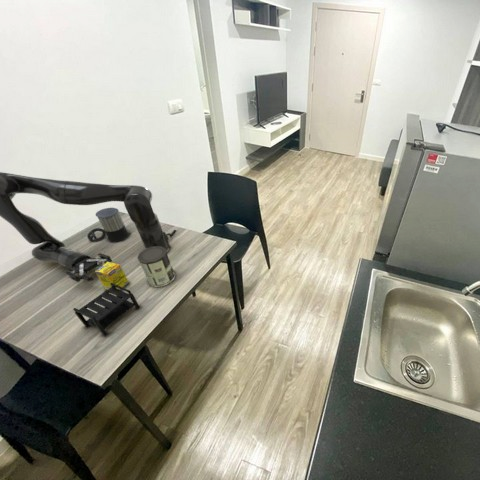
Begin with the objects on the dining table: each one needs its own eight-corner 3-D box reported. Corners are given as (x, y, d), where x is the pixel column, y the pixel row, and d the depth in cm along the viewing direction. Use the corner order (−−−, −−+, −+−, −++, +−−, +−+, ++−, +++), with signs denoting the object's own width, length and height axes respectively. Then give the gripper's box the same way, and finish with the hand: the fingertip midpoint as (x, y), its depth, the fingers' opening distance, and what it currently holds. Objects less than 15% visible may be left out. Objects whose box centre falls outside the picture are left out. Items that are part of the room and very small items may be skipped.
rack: (121, 299, 104) (111, 282, 98) (140, 307, 101) (131, 290, 95) (85, 326, 93) (71, 309, 87) (105, 336, 91) (92, 319, 85)
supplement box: (118, 293, 106) (107, 274, 99) (105, 290, 107) (93, 271, 100) (130, 283, 111) (120, 264, 104) (117, 280, 111) (107, 261, 105)
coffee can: (164, 267, 120) (155, 243, 111) (180, 275, 116) (171, 251, 108) (143, 281, 112) (131, 256, 104) (159, 290, 109) (148, 265, 100)
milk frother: (132, 237, 135) (121, 212, 126) (95, 250, 125) (81, 224, 116) (122, 225, 142) (111, 201, 133) (87, 237, 132) (72, 212, 124)
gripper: (50, 264, 102) (79, 276, 98) (88, 244, 113) (115, 254, 109) (60, 277, 107) (88, 290, 103) (96, 257, 118) (122, 268, 114)
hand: (102, 272), depth 106 cm, fingers open, 8 cm apart
